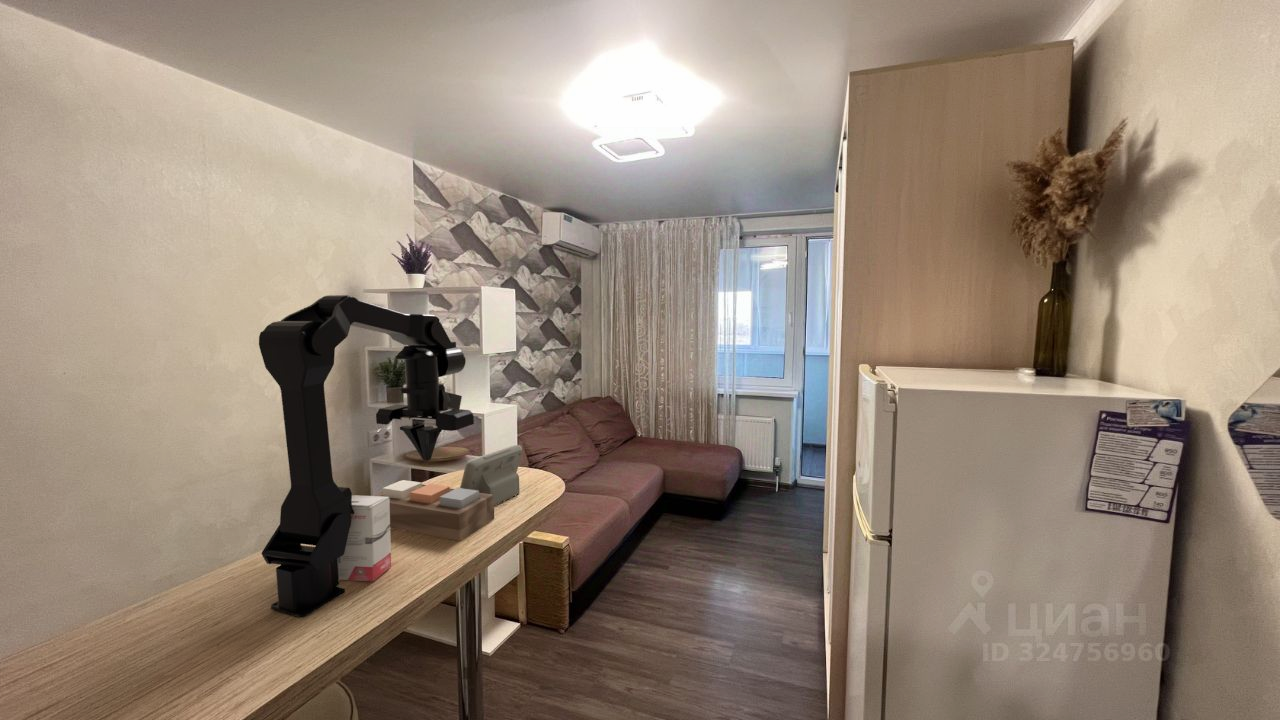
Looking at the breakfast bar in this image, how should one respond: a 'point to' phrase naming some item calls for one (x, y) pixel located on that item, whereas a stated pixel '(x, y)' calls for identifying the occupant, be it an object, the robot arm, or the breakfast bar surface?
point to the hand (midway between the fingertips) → (427, 460)
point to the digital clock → (494, 473)
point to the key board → (441, 517)
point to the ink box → (367, 540)
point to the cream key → (401, 489)
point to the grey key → (459, 498)
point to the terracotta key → (429, 493)
